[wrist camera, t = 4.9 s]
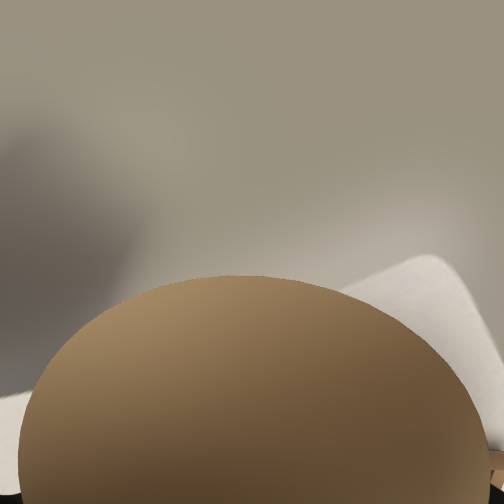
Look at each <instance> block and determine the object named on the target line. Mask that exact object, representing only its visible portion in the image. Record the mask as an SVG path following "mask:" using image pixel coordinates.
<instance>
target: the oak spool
mask: <svg viewBox="0 0 504 504" xmlns="http://www.w3.org/2000/svg"><path fill="white" fill-rule="evenodd" d="M18 476H19V483H20V490H21V496H22V501H23V504H488V502H489V494H490V477H491V468H490V459H489V451H488V443H487V440H486V436H485V433H484V429H483V426H482V423H481V419H480V416H479V414H478V412H477V410H476V408H475V406H474V404H473V402H472V400H471V398H470V396H469V394H468V392H467V390H466V388H465V387H464V385H463V384H462V383H461V381H460V380H459V378H458V377H457V376H456V374H455V373H454V371H453V370H452V369H451V367H450V366H449V365H448V363H447V362H446V361H445V360H444V359H443V358H442V357H441V356H440V355H439V354H438V353H437V352H436V351H435V350H434V349H433V348H432V347H431V346H430V345H429V344H428V343H427V342H426V341H425V340H423V339H422V338H421V337H419V336H418V335H417V334H415V333H414V332H413V331H411V330H410V329H409V328H407V327H406V326H405V325H403V324H402V323H401V322H399V321H398V320H396V319H394V318H393V317H391V316H389V315H387V314H385V313H383V312H382V311H380V310H378V309H376V308H374V307H373V306H371V305H369V304H367V303H365V302H362V301H360V300H357V299H355V298H352V297H349V296H347V295H344V294H342V293H339V292H337V291H334V290H330V289H327V288H323V287H319V286H315V285H311V284H308V283H304V282H300V281H294V280H286V279H279V278H271V277H264V276H221V277H211V278H200V279H192V280H188V281H184V282H179V283H174V284H170V285H166V286H162V287H159V288H156V289H153V290H150V291H148V292H145V293H143V294H139V295H136V296H134V297H132V298H130V299H128V300H126V301H124V302H122V303H120V304H118V305H116V306H114V307H112V308H110V309H108V310H107V311H105V312H104V313H102V314H101V315H99V316H98V317H96V318H95V319H94V320H92V321H91V322H89V323H88V324H86V325H85V326H84V327H83V328H81V329H80V331H78V332H77V333H76V334H75V335H74V336H73V337H72V338H71V339H70V340H68V341H67V342H66V343H65V344H64V346H63V347H62V348H61V349H60V350H59V352H58V353H57V354H56V355H55V356H54V358H53V359H52V360H51V361H50V363H49V364H48V366H47V367H46V369H45V370H44V372H43V374H42V376H41V377H40V379H39V381H38V382H37V384H36V386H35V388H34V390H33V393H32V395H31V398H30V400H29V402H28V405H27V408H26V411H25V415H24V419H23V422H22V426H21V431H20V439H19V448H18Z"/></svg>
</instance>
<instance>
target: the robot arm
mask: <svg viewBox="0 0 504 504" xmlns="http://www.w3.org/2000/svg"><path fill="white" fill-rule="evenodd" d="M0 504H23V501H22V496H21V493H18V494H14V495H0ZM488 504H504V492H503V491H502V490H500V489H499V488H497V487H496V486H494V485H493V484H491V483H490V494H489V502H488Z"/></svg>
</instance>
